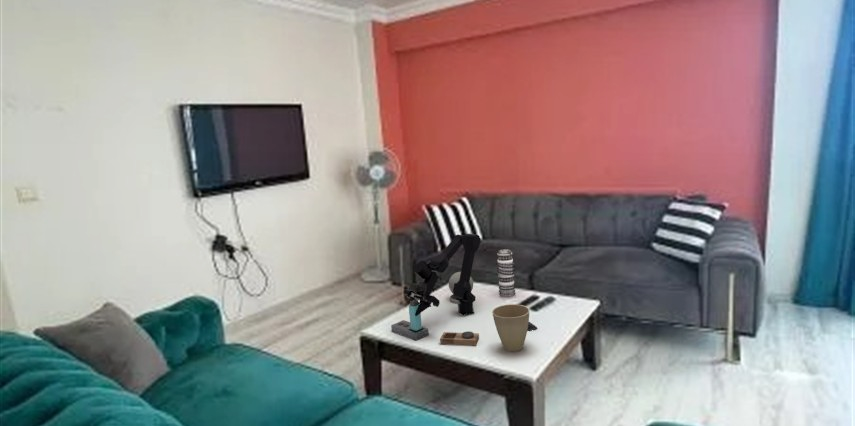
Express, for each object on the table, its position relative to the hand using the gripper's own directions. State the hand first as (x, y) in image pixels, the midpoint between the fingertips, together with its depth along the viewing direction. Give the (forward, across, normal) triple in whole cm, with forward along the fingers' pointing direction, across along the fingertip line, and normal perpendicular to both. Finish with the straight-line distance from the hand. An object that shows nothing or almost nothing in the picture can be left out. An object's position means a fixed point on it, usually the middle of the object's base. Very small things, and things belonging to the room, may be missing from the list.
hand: (412, 314), depth 225 cm
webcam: (-26, -14, +41) cm, 50 cm away
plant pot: (-4, +42, +19) cm, 46 cm away
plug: (+4, 0, +6) cm, 7 cm away
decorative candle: (-37, +3, +52) cm, 64 cm away
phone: (-18, +31, +34) cm, 50 cm away
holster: (+2, +20, +13) cm, 24 cm away
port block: (+6, -5, +8) cm, 11 cm away
